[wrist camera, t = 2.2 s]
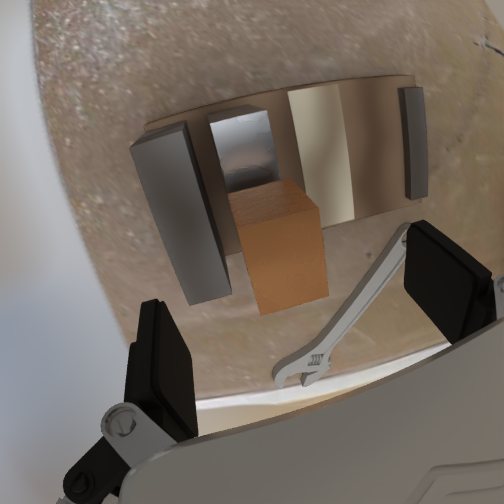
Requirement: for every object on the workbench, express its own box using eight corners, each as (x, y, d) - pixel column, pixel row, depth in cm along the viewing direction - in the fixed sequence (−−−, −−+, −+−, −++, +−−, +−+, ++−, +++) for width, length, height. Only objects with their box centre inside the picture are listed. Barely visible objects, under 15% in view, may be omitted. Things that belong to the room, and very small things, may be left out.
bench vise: (401, 74, 23) (462, 80, 16) (410, 194, 29) (461, 229, 22) (147, 122, 22) (126, 139, 16) (191, 253, 28) (192, 311, 22)
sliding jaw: (250, 103, 21) (305, 122, 10) (279, 238, 26) (332, 343, 16) (205, 114, 21) (214, 144, 10) (241, 249, 26) (273, 361, 16)
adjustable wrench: (401, 215, 31) (411, 222, 29) (430, 243, 34) (439, 250, 32) (264, 374, 39) (266, 384, 37) (301, 384, 41) (304, 394, 40)
